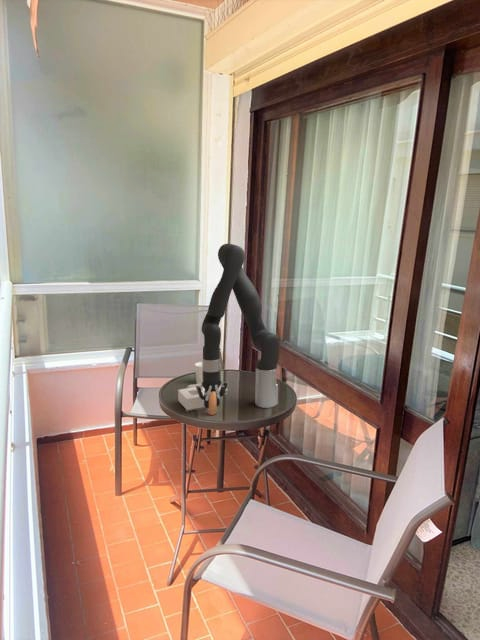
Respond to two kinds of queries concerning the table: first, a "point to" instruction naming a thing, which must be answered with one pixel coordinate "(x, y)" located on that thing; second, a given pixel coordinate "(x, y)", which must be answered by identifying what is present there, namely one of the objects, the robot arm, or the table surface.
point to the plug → (212, 403)
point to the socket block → (191, 399)
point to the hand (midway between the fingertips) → (211, 406)
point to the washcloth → (201, 384)
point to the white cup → (199, 372)
